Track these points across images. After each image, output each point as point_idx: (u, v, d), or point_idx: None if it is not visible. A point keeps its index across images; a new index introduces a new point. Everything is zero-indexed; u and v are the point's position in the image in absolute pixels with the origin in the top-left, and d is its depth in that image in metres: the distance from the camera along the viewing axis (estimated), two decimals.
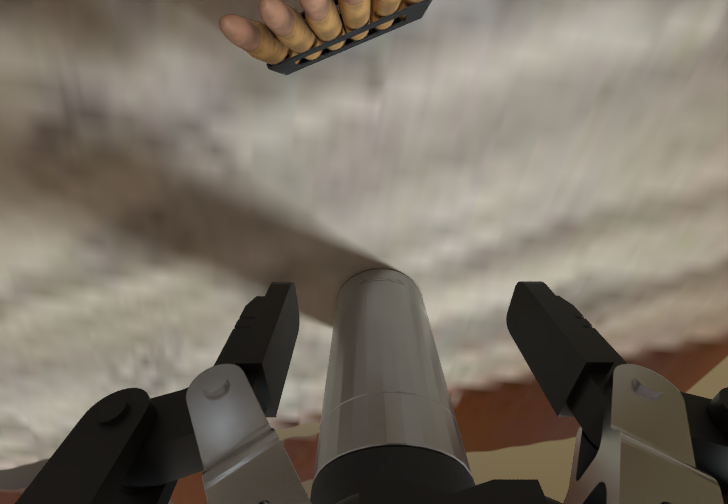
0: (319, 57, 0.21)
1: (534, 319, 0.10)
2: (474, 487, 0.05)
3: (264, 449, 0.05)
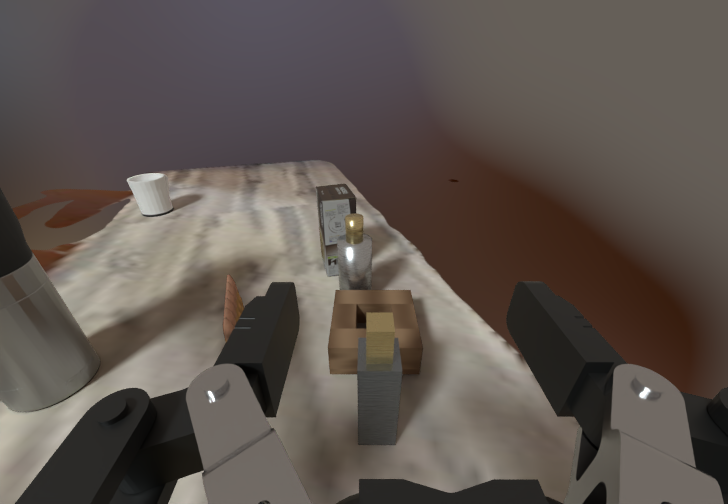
0: None
1: (534, 319, 0.10)
2: (474, 487, 0.05)
3: (264, 449, 0.05)
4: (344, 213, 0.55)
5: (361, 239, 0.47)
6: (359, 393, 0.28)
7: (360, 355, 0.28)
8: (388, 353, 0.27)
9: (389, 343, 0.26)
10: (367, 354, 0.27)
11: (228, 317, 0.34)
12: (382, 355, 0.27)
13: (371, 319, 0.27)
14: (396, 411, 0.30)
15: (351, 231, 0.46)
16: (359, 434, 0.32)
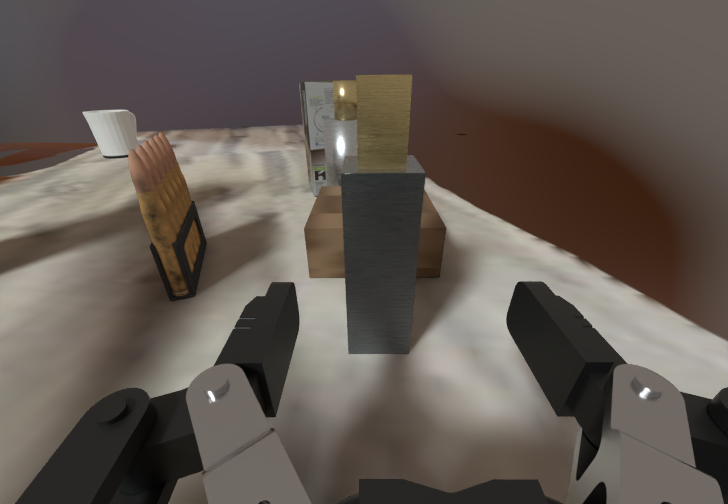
0: None
1: (534, 319, 0.10)
2: (474, 487, 0.05)
3: (264, 448, 0.05)
4: None
5: (355, 114, 0.35)
6: (346, 233, 0.16)
7: (348, 164, 0.16)
8: (398, 139, 0.14)
9: (401, 110, 0.14)
10: (359, 143, 0.14)
11: (143, 161, 0.22)
12: (388, 144, 0.14)
13: None
14: (412, 278, 0.17)
15: (342, 98, 0.34)
16: (349, 331, 0.19)
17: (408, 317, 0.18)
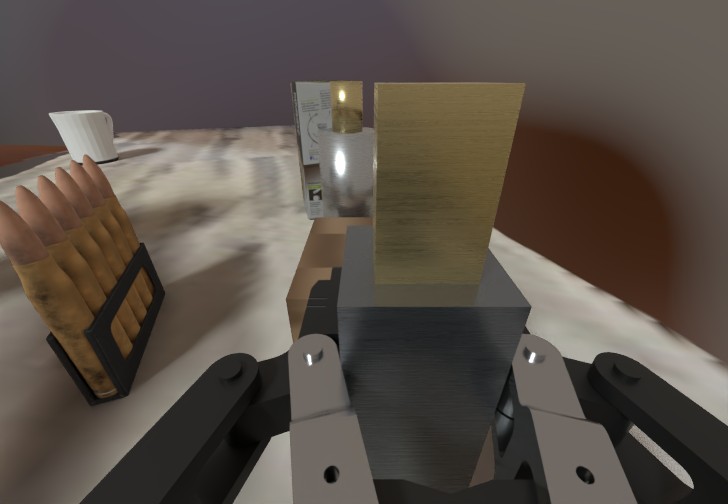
0: None
1: None
2: (474, 487, 0.05)
3: (342, 420, 0.05)
4: None
5: (359, 125, 0.27)
6: None
7: (353, 261, 0.08)
8: (470, 230, 0.06)
9: (484, 169, 0.06)
10: (380, 236, 0.06)
11: (28, 211, 0.14)
12: (445, 238, 0.06)
13: None
14: (471, 459, 0.09)
15: (342, 104, 0.26)
16: None
17: None
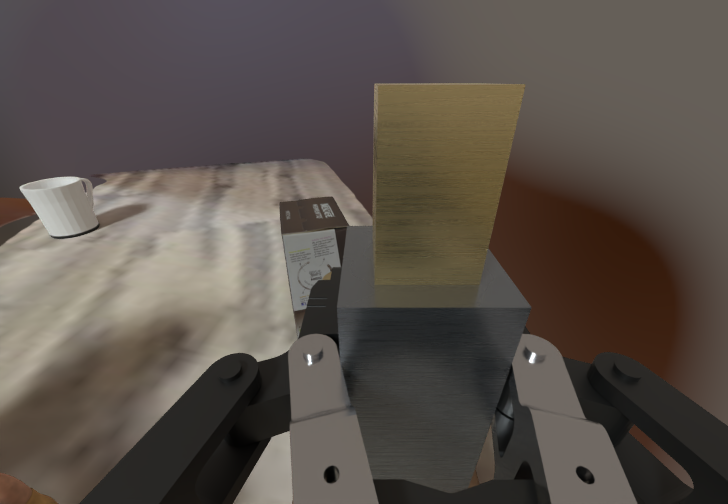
0: None
1: None
2: (474, 487, 0.05)
3: (342, 420, 0.05)
4: (327, 256, 0.29)
5: None
6: None
7: (353, 262, 0.08)
8: (470, 230, 0.06)
9: (484, 170, 0.06)
10: (380, 237, 0.06)
11: None
12: (445, 239, 0.06)
13: None
14: (471, 459, 0.09)
15: None
16: None
17: None
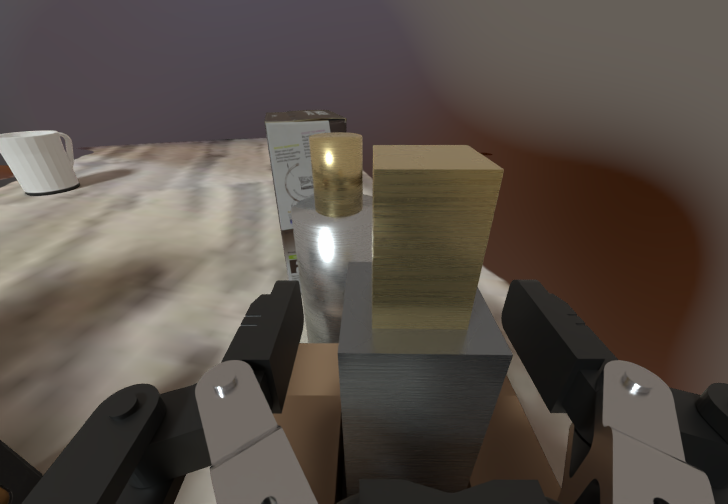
0: None
1: (528, 317, 0.10)
2: (474, 487, 0.05)
3: (270, 445, 0.05)
4: None
5: (357, 204, 0.17)
6: (348, 431, 0.08)
7: (353, 303, 0.08)
8: (458, 285, 0.07)
9: (469, 236, 0.06)
10: (376, 289, 0.07)
11: None
12: (435, 291, 0.07)
13: (392, 153, 0.07)
14: (462, 482, 0.10)
15: (328, 175, 0.16)
16: None
17: None
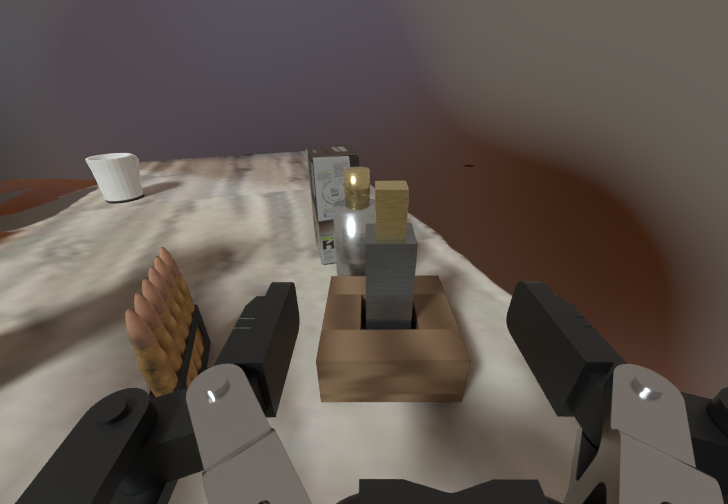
0: None
1: (534, 319, 0.10)
2: (474, 487, 0.05)
3: (264, 448, 0.05)
4: (343, 176, 0.41)
5: (367, 203, 0.33)
6: (367, 278, 0.25)
7: (369, 234, 0.25)
8: (401, 223, 0.23)
9: (402, 207, 0.22)
10: (376, 225, 0.23)
11: (142, 310, 0.20)
12: (394, 225, 0.23)
13: (381, 184, 0.23)
14: (410, 305, 0.26)
15: (353, 189, 0.32)
16: None
17: None
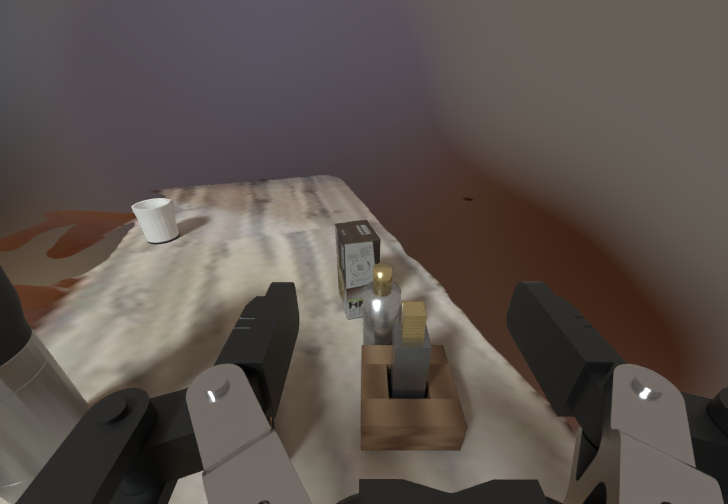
0: None
1: (534, 319, 0.10)
2: (474, 487, 0.05)
3: (264, 448, 0.05)
4: (367, 256, 0.51)
5: (390, 291, 0.44)
6: (395, 367, 0.35)
7: (396, 336, 0.35)
8: (420, 333, 0.34)
9: (421, 325, 0.33)
10: (403, 334, 0.34)
11: None
12: (415, 335, 0.34)
13: (407, 306, 0.34)
14: (424, 383, 0.36)
15: (380, 283, 0.42)
16: None
17: (422, 398, 0.38)
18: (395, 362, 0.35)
